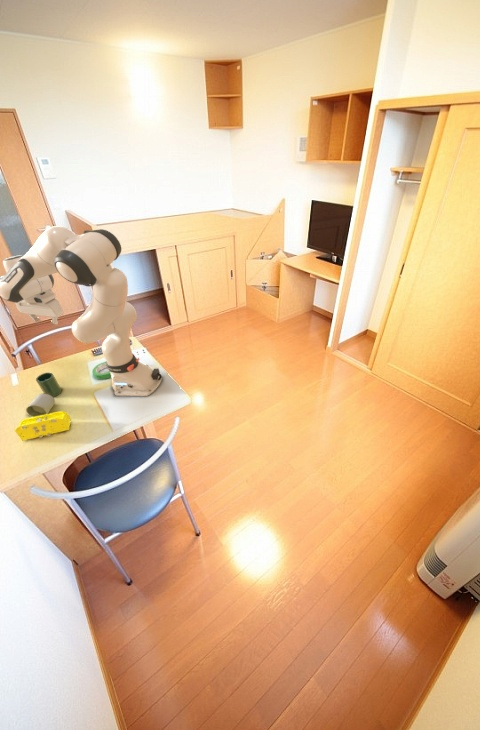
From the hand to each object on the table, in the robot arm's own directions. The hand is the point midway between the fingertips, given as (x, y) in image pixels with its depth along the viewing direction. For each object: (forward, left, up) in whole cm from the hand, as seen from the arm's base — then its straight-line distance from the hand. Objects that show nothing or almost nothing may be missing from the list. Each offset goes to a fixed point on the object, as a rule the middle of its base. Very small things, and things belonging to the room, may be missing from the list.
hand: (46, 322), depth 131 cm
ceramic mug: (-9, +27, -27) cm, 39 cm away
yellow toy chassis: (-20, +35, -27) cm, 49 cm away
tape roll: (-19, -2, -27) cm, 33 cm away
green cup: (-5, +16, -27) cm, 32 cm away
